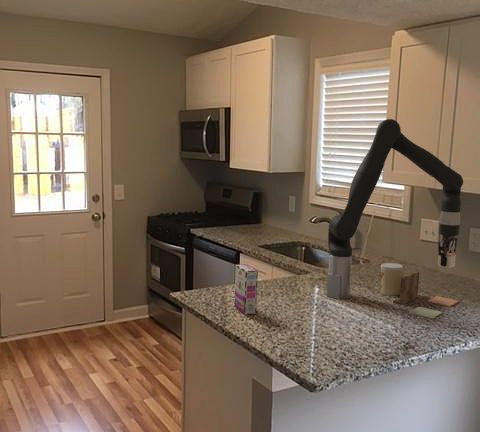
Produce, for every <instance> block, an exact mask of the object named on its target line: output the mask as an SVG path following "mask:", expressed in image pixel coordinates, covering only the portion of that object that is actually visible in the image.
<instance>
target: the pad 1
mask: <svg viewBox="0 0 480 432" xmlns="http://www.w3.org/2000/svg"><path fill="white" fill-rule="evenodd" d="M408 313H409V314H412V315H416V316H420V317H424V318H427V319H435V318H437V317H438V316H440V315H442V314H443V311H440V310H436V309H431V308H427V307H424V306H418V307H415V308H414V309H411V310H410V311H409V312H408Z"/></svg>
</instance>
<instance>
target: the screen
mask: <svg viewBox="0 0 480 432" xmlns="http://www.w3.org/2000/svg"><path fill="white" fill-rule="evenodd" d="M419 280H420V271H417V270H416V271H413V272H411V273H409V274H406V275H402V277H401V287H400V294H399V298H396V299H394V300H392V303H393V304H398V305H401V306H402V305H404V304H408V303H409V302H411V301H413V300H415V299H417V298H419V297H418V296H419V295H418V294H419V284H420V283H419Z"/></svg>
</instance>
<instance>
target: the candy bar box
mask: <svg viewBox="0 0 480 432" xmlns="http://www.w3.org/2000/svg"><path fill="white" fill-rule="evenodd" d="M234 274H235V276H234V277H235V279H234V280H235V281H234V306H233V307H235V308H236V310H238V311H239V312H240V313H242V314H243V315H244V316H250V315H251V316H252V315H256V314H257V304H258V303H257V302H258V301H257V300H258V275H259V271H258V270H257V269H255V267H252V266H250V265H249V264H235V273H234Z"/></svg>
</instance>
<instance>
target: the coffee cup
mask: <svg viewBox="0 0 480 432" xmlns="http://www.w3.org/2000/svg"><path fill="white" fill-rule="evenodd" d="M403 276H404V266H403V265H402V264H399V263H394V262H384V263H382V264H381V265H380V293H381V294H383V295H385V296H400V287H401V277H403Z"/></svg>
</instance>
